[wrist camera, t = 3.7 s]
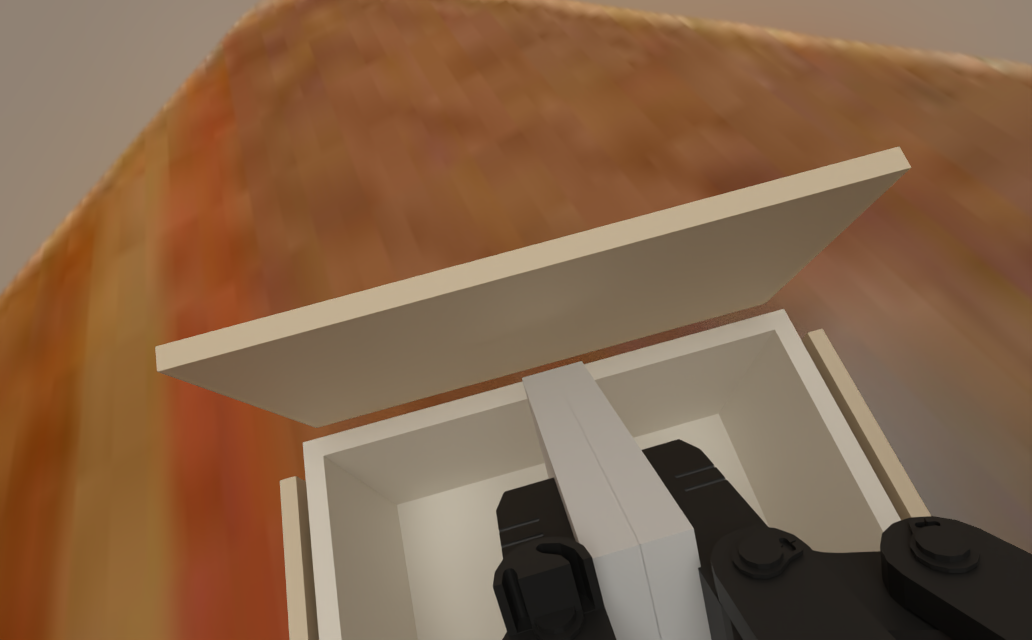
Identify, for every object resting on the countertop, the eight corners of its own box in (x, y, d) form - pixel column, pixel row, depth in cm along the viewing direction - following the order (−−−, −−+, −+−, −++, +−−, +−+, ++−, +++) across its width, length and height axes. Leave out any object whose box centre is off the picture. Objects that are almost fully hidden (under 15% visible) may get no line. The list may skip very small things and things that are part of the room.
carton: (739, 397, 27) (807, 302, 19) (924, 790, 20) (1153, 899, 12) (368, 502, 26) (278, 449, 18) (427, 946, 19) (322, 1170, 11)
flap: (758, 289, 19) (899, 146, 12) (765, 303, 19) (911, 167, 11) (313, 412, 19) (155, 346, 11) (316, 427, 18) (157, 371, 11)
